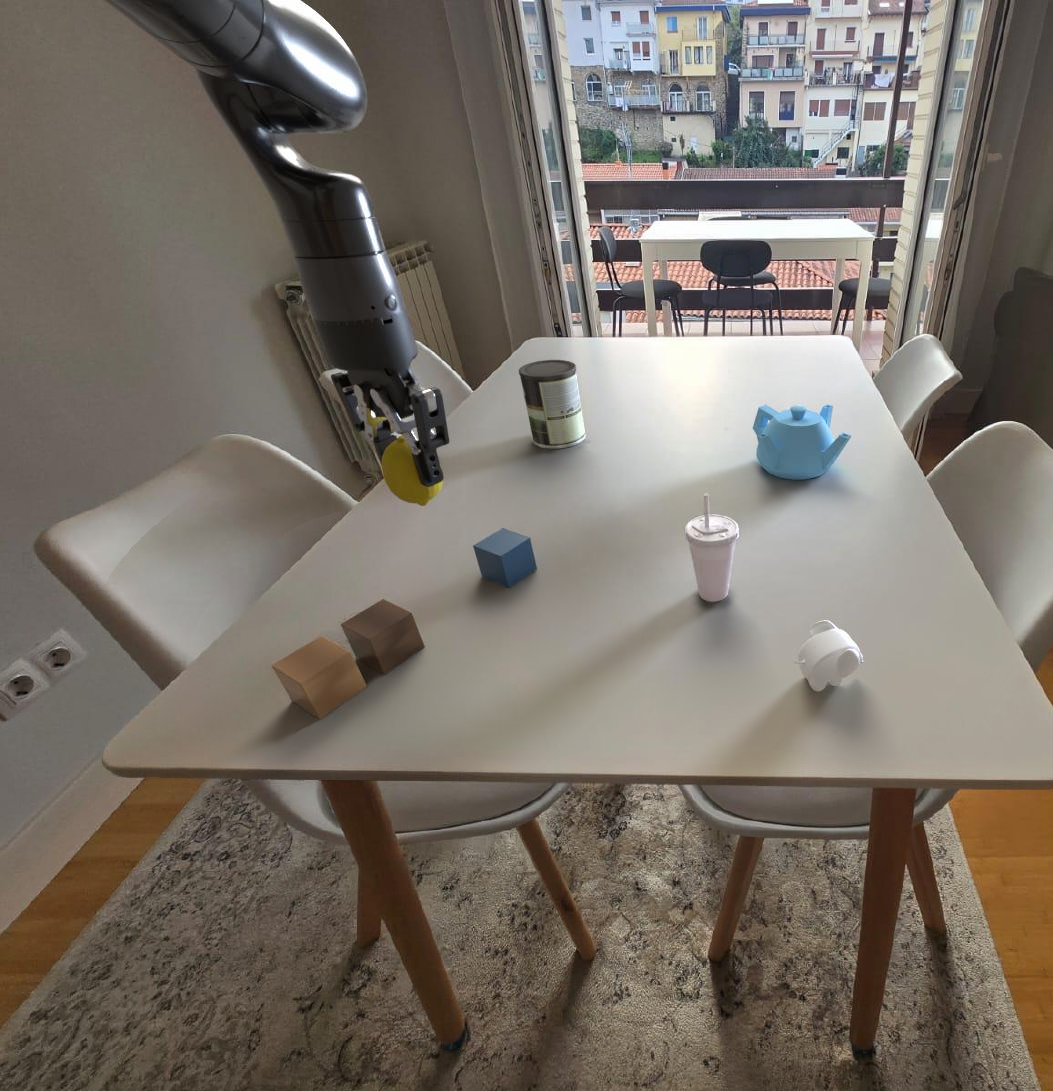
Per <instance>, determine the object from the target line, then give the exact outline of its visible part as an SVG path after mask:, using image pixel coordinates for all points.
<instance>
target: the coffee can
mask: <svg viewBox="0 0 1053 1091" xmlns="http://www.w3.org/2000/svg"><path fill="white" fill-rule="evenodd" d="M518 375H519V377H520V382H521V386H522V392H523V397H524V403H525V406H526V411H527V417H528V420H529V421H528V422H529V426H530V431H531V436H532V443H533V444H534V445H535V446H536V447H538V448H541V449H548V450H558V449H566V448H570V447H574V446H577V445H579V444H581V443H582V442H583V441H584V440H585V439H586V437H587V435H586V430H585V423H584V416H583V409H582V403H581V397H580V390H579V385H578V384H579V383H578V377H577V365H576V363H574V362H573V361H570V360H566V359H565V360H564V359H544V360H538V361H533V362H529V363H527V364H524V365H522V366H521V367H519V368H518Z"/></svg>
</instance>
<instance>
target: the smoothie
mask: <svg viewBox="0 0 1053 1091" xmlns="http://www.w3.org/2000/svg"><path fill="white" fill-rule="evenodd" d="M703 511H704V512H703V513H704V514H703V515H699V516H696V517H694V518H692V519H691V520H689V521H688V522H687V524H686V525H685V527H684V528H685V529H684V531H685V534H684V537H685V539H686V541H687V542H688V544H689V550H690V555H691V560H692V565H693V571H694V576H695V582H696V585H697V590H698V595H699V597H700V599H702V600H704V601H706V602H713V603H714V602H715V603H716V602H719V601H723V600H725V598H727V596H728V594H729V589H730V581H731V575H732V568H733V561H734V554H735V547H736V541H737V540H738V539H739V537H740V531H739V525H738V523H737V522H736V521H735V520H734V519H732V518H731V517H729V516H726V515H722V514H710V495H709V493H703Z"/></svg>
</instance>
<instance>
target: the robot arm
mask: <svg viewBox="0 0 1053 1091" xmlns="http://www.w3.org/2000/svg"><path fill="white" fill-rule="evenodd" d="M103 2H105V3H107V4H108V5H109V6H111V7H112V8H113V9H114V10H116V11H118V12H119V13H120V14H121V15H123V16H124V17H125V18H127V19H128V20H129V21H130V22H132V23H133V24H134V25H136V26H137V27H138V28H139V29H141V30H143V32H145V34H148V35H149V36H150V37H151V38H153V39H154V40H156V41H157V42H158V43H160V44H161V45H162V46H163V47H165V48H166V49H167V50H169V51H171V52H172V53H173V54H174V55H176V56H177V57H178V58H180V59H181V60H182V61H184V62H185V63H187V64H189V65H190V66H192V67H193V69H194V72H195V74H196V77H197V79H198V81H199V83H200V85H201V88H202V90H203V91H204V93H205V94H206V96H207V98H208V100H209V101H210V103H211V105H212V106H213V108H214V109H215V111H216V112H217V114H218V115H219V117H220V119H221V120H222V121H223V123H224V124H225V125H226V127H227V129H228V131H229V132H230V133H231V135H232V136H233V138H234V139H235V141H236V142H237V144H238V145H239V147H240V149H241V150H242V152H243V154H244V155H245V156H246V158H247V159H248V161H249V163H250V164H251V166H252V168H253V169H254V171H255V173H256V174H257V176H258V178H259V180H260V181H261V183H262V184H263V186H264V188H265V190H266V191H267V193H268V195H269V198H270V199H271V201H272V202H273V205H274V207H275V209H276V212H277V215H278V217H279V220H280V223H281V226H282V228H283V232H284V235H285V237H286V239H287V242H288V245H289V247H290V252H291V254H292V256H293V259H294V262H295V266H296V270H297V276H298V279H299V283H300V287H301V290H302V292H303V295H304V299H305V300H306V303H307V306H308V309H309V311H310V314H311V318H312V319H313V322H314V325H315V328H316V331H317V333H318V336H319V338H320V341H321V344H322V347H323V349H324V352H325V355H326V357H327V360H328V363H329V364H330V366H332V367H333V368H335V369H336V370H340V371H339V372H336V373H332V374H331V375H330V379H331V382H332V384H333V386H334V388H335V390H336V393H337V395H338V396H339V399H340V401H341V403H342V404H343V405H342V406H343V407H344V410H345V412H346V414H347V417H348V418H349V420H350V422H351V424H352V426H353V429H354V430H355V431H356V432H358V433H361V432H364V434H365V436H366V438H367V439H368V440H369V441H370V442H373V445H374V448H375V451H376V454H377V456H378V460H379V463H380V466H381V467H382V456H383V453H384V451H385V449H386V448H387V447H388V446H389V445H390V444H391V443H392V442H394V441H395V440H397V439H398V436H397V435H400V436H403V437H404V439H405V441H406V442H407V444H408V446H409V448H410V449H411V451H412V452H413V453H412V457H413V460H414V463H415V466H416V469H417V472H418V475H419V479H420V482H421V484H422V485H424V486H427V487H431V486H433V485H436V484H438V483H440V482H442V481H443V482H444V478H445V476H444V472H443V468H442V469H441V467H442V464H441V462H440V458H439V455H438V451H437V450H438V449H439V448H441V447H443V446H444V447H445V446H446V445H449V444H450V436H449V430H448V424H447V423H448V422H447V415H446V410H445V404H444V403H445V402H444V397H443V393H442V391H441V389H440V388H439V387H437V386H433V387H430V388H425V387H423V386H421V385H420V384H419V381H418V379H417V378H416V376H415V374H414V373H413V370H412V367H411V364H412V362H413V360H415V359H416V358H417V357H418V355H419V348H418V345H417V342H416V338H415V335H414V331H413V327H412V324H411V320H410V317H409V314H408V311H407V307H406V303H405V300H404V296H403V293H402V290H401V286H400V283H399V279H398V277H397V274H396V272H395V269H394V267H393V265H392V262H391V260H390V258H389V254H388V251H387V250H386V245H385V241H384V239H383V235H382V231H381V229H380V228H381V227H380V224H379V221H378V218H377V214H376V210H375V207H374V203H373V200H372V198H371V194H370V192H369V189H368V187H367V186H366V184H365V182H364V181H363V180H362V179H361V178H359V177H358V176H356V175H354V174H352V173H348V172H347V171H346V172H345V171H340V170H336V169H330V168H326V167H321V166H319V165H318V166H317V165H314V164H312V163H310V162H308V161H307V160H306V159H305V158H304V157H303V156H302V155H301V154H300V153H299V152H298V151H297V150H296V148H295V147H294V145H293V144H292V143H291V141H290V140H289V138H288V135H342V134H346V133H350V132H351V131H352V132H353V131H354V130H355V129H356V128H358V127H359V126H360V125H361V124H362V122H363V121H364V119H365V117H366V113H367V110H368V102H369V101H368V90H367V86H366V81H365V77H364V75H363V72H362V70H361V67H360V65H359V63H358V61H357V59H356V56H355V55H354V53H353V52H352V50H351V48H350V47H349V46H348V44H347V42H345V40H344V38H343V37H342V36H341V35H340V33H339V32H338V31H337V30H336V29H335V28H334V26H332V25H331V24H330V23H329V22H328V21H327V20H326V19H325V18H324V17H323V16H322V15H321V14H320V13H318V12H317V11H316V10H315V9H313V8H312V7H311V6H309V5H308V4H306V3H305V2H304V1H302V0H103ZM412 416H413V418H414V419H412V420H409V421H403V419H407V418H409V417H412ZM415 428H416V432H417V437H416V434H415V433H414V432H413V430H414V429H415ZM433 429H435V431H434V430H433ZM394 433H396V434H397V435H395V434H394ZM417 438H418V440H417ZM440 464H441V465H440Z"/></svg>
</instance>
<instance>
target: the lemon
mask: <svg viewBox="0 0 1053 1091" xmlns="http://www.w3.org/2000/svg"><path fill="white" fill-rule="evenodd" d="M416 439H417V438H416ZM417 440H419V438H418V439H417ZM412 453H413V452H412V451H411V449H410V448H409V446H408V444H407V442H406V441H405V439H404V437H403V436H402V435H399V436H397V440H395V441H394V442H392V443H391V444H390V445H389V446H388V447H387V448H386V449H385V451H384V453H383V456H382V466H381V471H382V475H383V479H384V481H385V484H386V486H387V488H388V489H389V490H390V492H391V493H392V494H393V495H394V496H395V497H396V498H398V499H399V500H401V501H403V502H406V503H408V504H416V505H419V506H421V507H424V506H427V505H428V503H429V502H430V501H432V500H433V499H435V497H436V496H437V495H438V494H440V491H441V489H442V487H443V485H444V480H443V481H442V482H440V483H438V484H436V485H433V486H431V487H427V486H424V485H422V484H421V482H420V479H419V475H418V472H417V469H416V466H415V463H414V460H413V457H412ZM440 465H441V469H442V470H443V468H442V464H441V463H440Z"/></svg>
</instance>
